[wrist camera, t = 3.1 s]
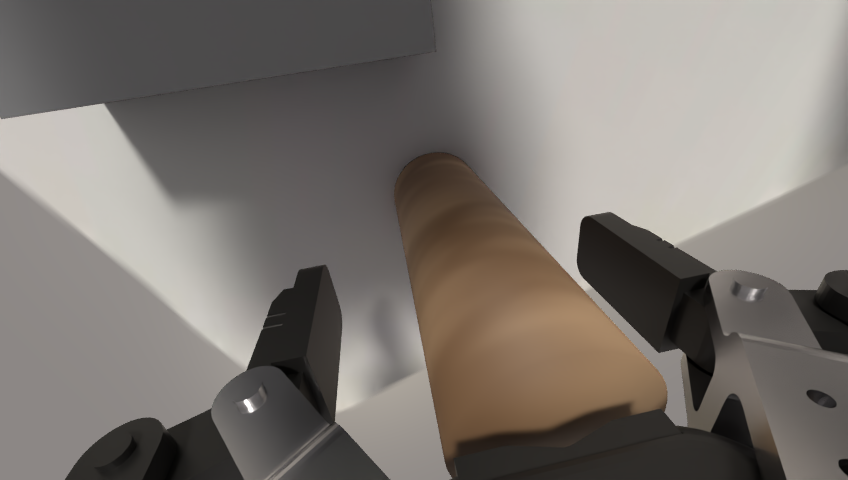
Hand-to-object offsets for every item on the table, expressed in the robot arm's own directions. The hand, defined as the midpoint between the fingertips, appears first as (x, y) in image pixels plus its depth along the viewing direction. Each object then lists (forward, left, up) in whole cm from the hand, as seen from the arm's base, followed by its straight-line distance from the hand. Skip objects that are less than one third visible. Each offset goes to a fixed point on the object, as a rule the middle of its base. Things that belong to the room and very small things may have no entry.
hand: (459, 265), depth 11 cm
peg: (0, 0, -7) cm, 7 cm away
